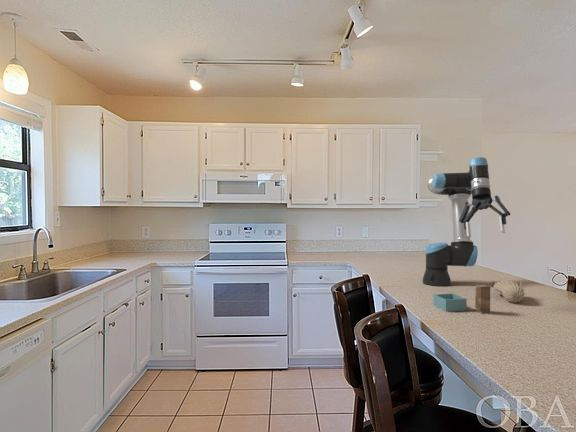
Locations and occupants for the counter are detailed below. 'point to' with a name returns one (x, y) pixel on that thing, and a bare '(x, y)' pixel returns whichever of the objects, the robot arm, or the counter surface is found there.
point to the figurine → (509, 290)
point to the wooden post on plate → (482, 299)
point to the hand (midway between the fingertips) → (485, 234)
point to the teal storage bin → (450, 302)
